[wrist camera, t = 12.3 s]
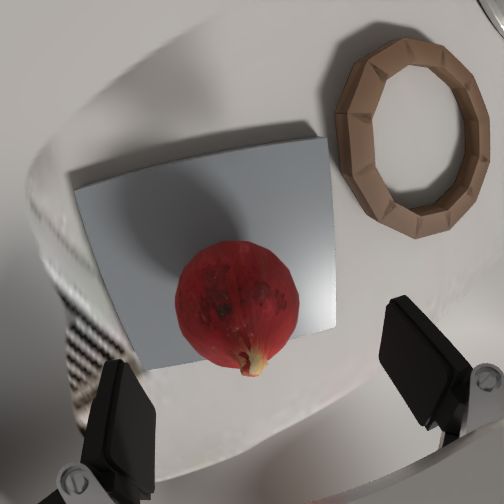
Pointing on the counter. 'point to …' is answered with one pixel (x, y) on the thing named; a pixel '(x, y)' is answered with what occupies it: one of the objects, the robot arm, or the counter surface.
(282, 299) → the onion
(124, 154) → the counter surface
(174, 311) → the board
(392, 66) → the ring holder
